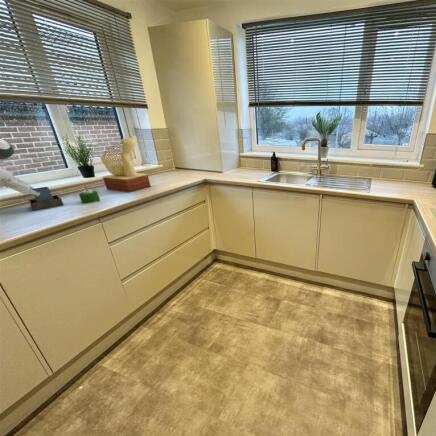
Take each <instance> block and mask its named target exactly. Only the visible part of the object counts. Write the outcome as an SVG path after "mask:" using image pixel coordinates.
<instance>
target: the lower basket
mask: <svg viewBox="0 0 436 436" xmlns="http://www.w3.org/2000/svg"><path fill="white" fill-rule="evenodd" d="M52 197H53V199H54V200H49V201H43V202H38V203H37V201H36V199H35V198H31V199H28V200H27V201H28V204H29V206H30V207H31V210H32V212H38V211H43V210H47V209H48V210H49V209H52V208H53V209H54V208H59V207H63V206H64V202H63V200H62V198H61V197H60V195H58V194H55V195H52Z"/></svg>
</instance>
